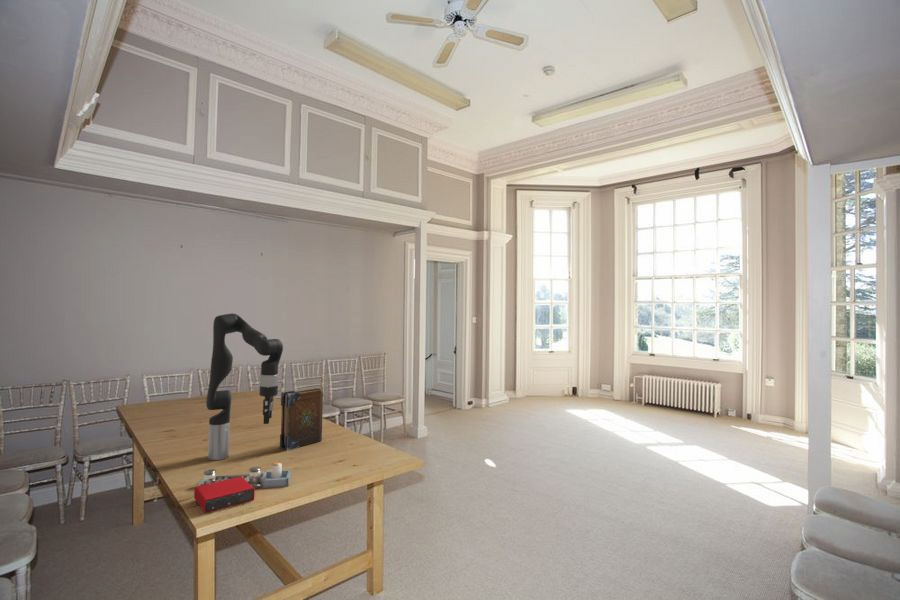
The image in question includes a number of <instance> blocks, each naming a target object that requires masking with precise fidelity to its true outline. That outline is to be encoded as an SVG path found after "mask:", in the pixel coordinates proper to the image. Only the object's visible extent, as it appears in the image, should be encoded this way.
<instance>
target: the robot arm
mask: <svg viewBox="0 0 900 600" xmlns="http://www.w3.org/2000/svg"><path fill="white" fill-rule="evenodd" d="M212 327H213V328H212V329H213V330H212V331H213V335H212V336H213V338H212V355H211V361H210V375H209V377H210V378H209V383H208V389H207V395H206V401H205V402H206V403H205V404H206V408H207V410H209V411H217V410H221V411H220V412H219V413H217V414H215V415H212V416H210V417H209V420H208V445H207V446H208V447H207V448H208V449H207V450H208V451H207V452H208V453H207V459H208V460H210V461H219V460H225V459H227V458H229V455H230V453H229V452H230V431H231V430H230V429H231V428H230V427H231V426H230V425H231V424H230V423H231V421H230V419H231V405H232V392H231V390H227V389H226V390H224V389H223V390H218V388H219V386H220V385H221V383H222V382H223V381H224V380H225V379H226V378H227V377H228V376H229V374H230V373H231V372H232V369H233V362H234V357H233V354H232V352H231V350H230V349H229V348H228V347H227V344H226V335H228V334H229V335H230V334H232V333H236V332H237V333H241V335H242V336H241V338H242V340H243V341H244V342H245V343H246V344H247V345H249V346H251V347H253V348H254V350H255V351H256V352H257V353H258V354H259V355H260V356H263V357H264V356H265V357H266V356H269V357H268V358H267V359H266V360H264V361H262V362H261V365H260V377H259V396H260V397H264V398H263V400H262V404H263V405H262V415H263V424H264V425H268V424H270V419H272V415H273V413H272V412H273V407H274V402H275V401H274V397H275V396H278V393H279V364H280V361H281V357H282V354H283V351H284V345H283V342H282V341H281V340H280V339H278V338H270V339H269V338H267V336H266V335H265V334H264V333H262V332H260V331H259V330H256V329H255V328H253V327H252V326H251V325H250V324H249V323H248V322H247V321H245V320H244V319H243V318H242V317H241V316H240V315H239V314H236V313H234V312H233V313H226V314H219V315H216V316H215V317H214V320H213V326H212Z"/></svg>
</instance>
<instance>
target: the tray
mask: <svg viewBox="0 0 900 600" xmlns="http://www.w3.org/2000/svg"><path fill="white" fill-rule="evenodd" d="M263 473H264V474H263V476H261V478H260V481H261V485H260V489H262V488H263V489H264V488H275V487H276V488H278V487H280V488H281V487H289V484H290V481H291V478H292V470H291V469H282V478H281V479H271V470H266V471H265V470H264V472H263Z"/></svg>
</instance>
